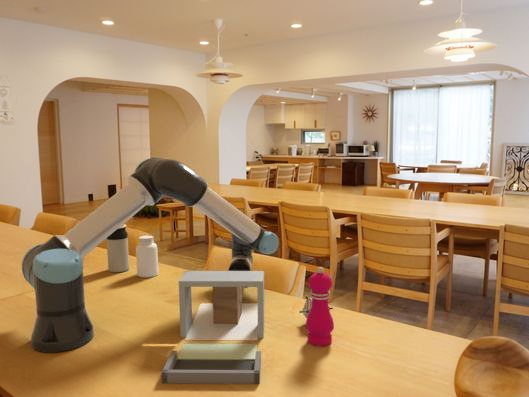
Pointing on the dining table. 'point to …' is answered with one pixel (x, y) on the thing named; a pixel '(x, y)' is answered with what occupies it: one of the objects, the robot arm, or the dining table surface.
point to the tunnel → (203, 321)
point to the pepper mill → (320, 310)
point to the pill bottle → (146, 257)
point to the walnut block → (227, 305)
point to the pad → (217, 351)
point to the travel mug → (118, 250)
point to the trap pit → (212, 370)
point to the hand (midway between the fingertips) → (234, 291)
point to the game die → (308, 307)
